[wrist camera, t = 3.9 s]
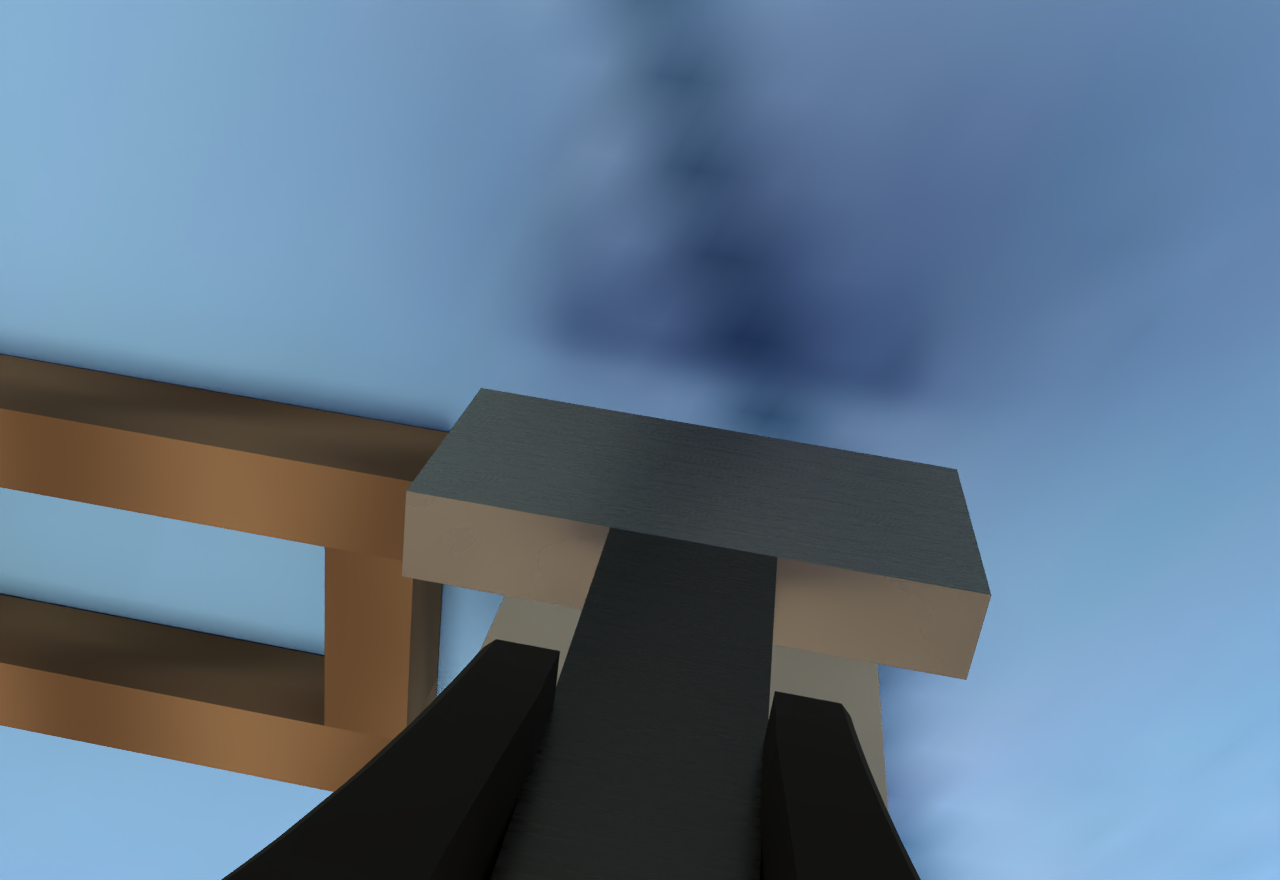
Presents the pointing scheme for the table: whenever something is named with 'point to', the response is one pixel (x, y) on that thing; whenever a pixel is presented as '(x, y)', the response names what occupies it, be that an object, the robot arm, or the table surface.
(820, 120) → the table surface
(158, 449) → the frame
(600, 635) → the turner
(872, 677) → the tile
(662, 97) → the table surface
